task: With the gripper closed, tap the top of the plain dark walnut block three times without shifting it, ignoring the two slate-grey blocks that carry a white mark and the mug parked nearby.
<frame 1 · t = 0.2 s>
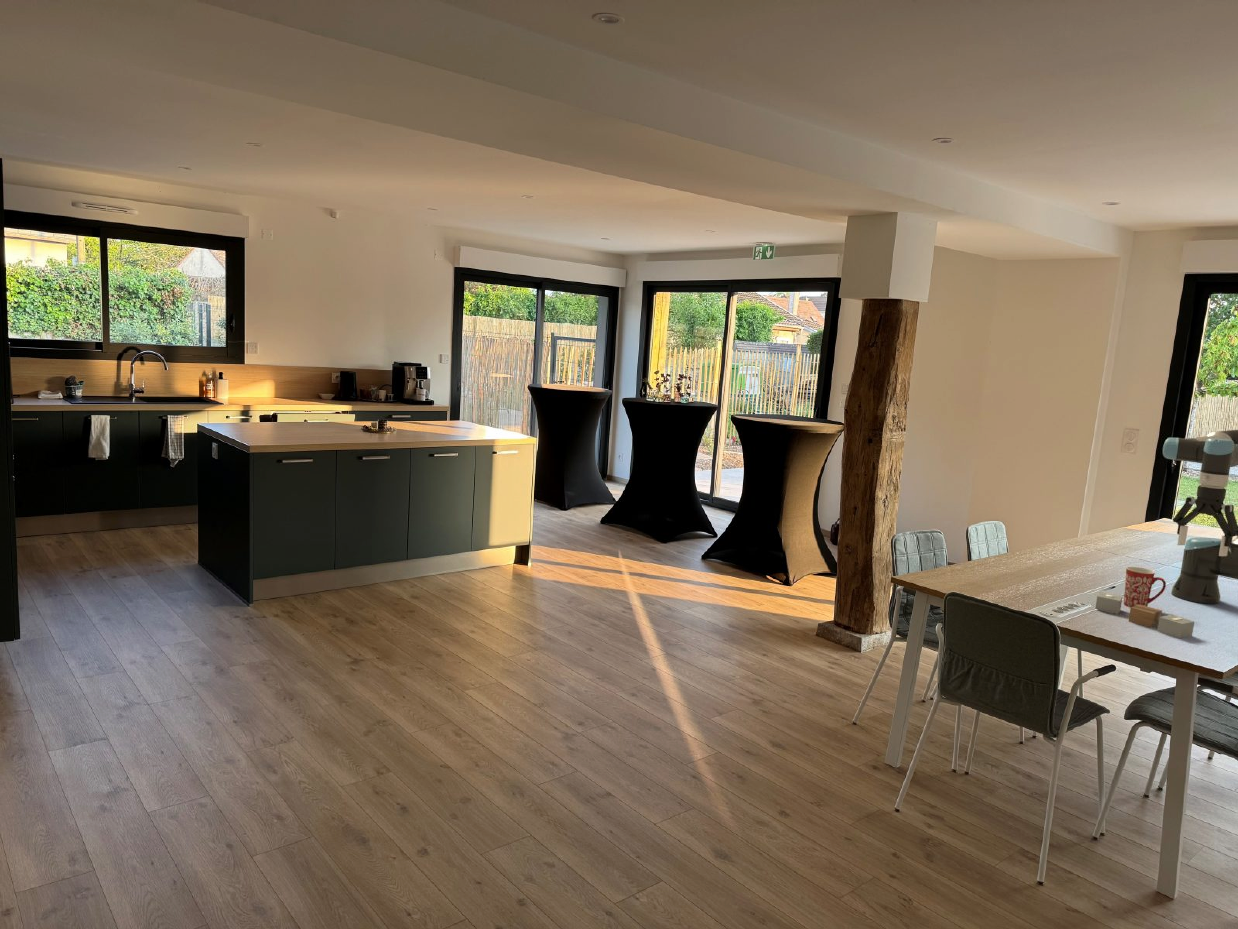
hand: (1201, 550, 270), 27 cm above the table, fingers open, 13 cm apart
walnut block: (1144, 623, 278), on the table
marked block b: (1174, 634, 269), on the table
marked block a: (1107, 610, 291), on the table
mug: (1140, 607, 296), on the table
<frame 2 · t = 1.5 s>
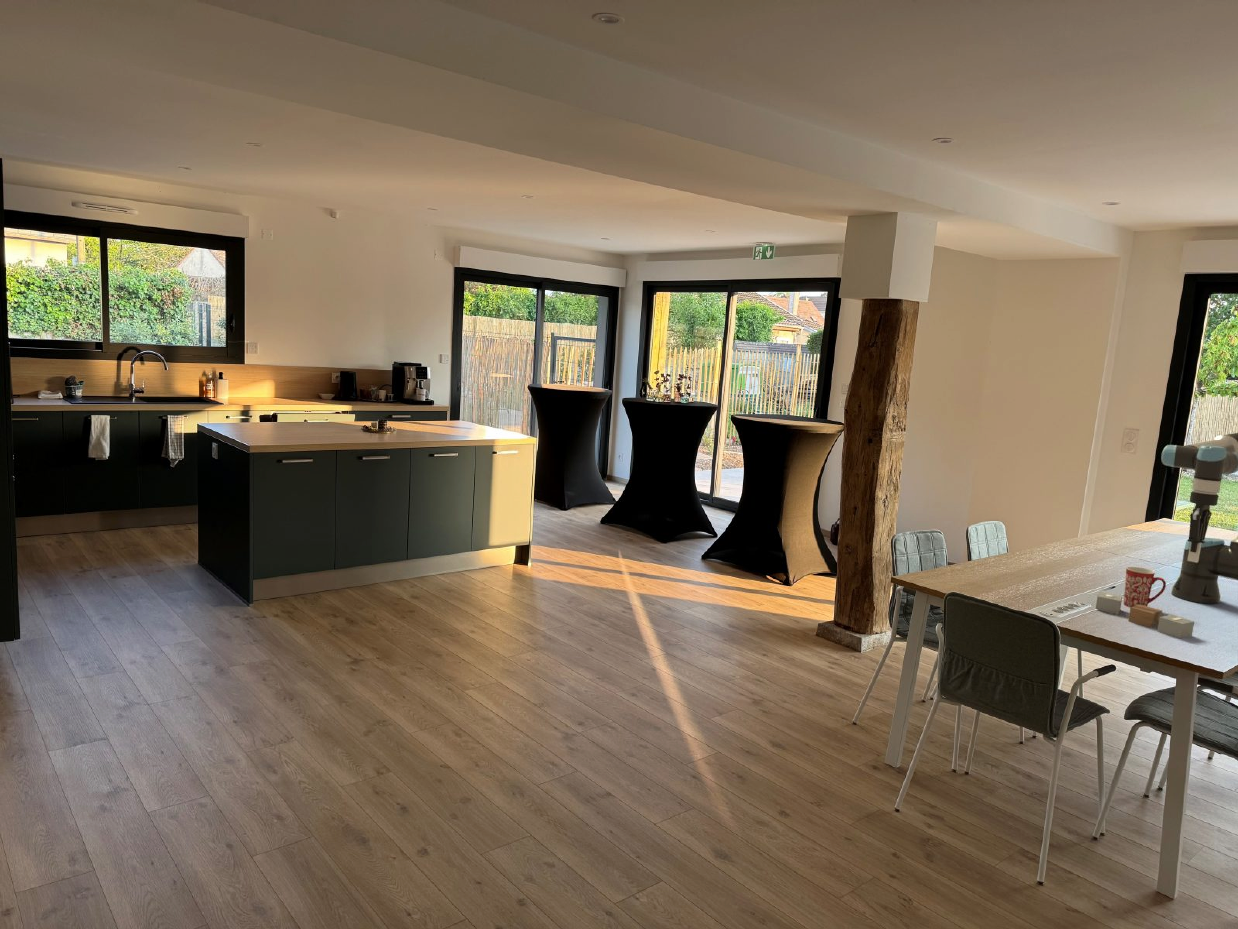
hand: (1192, 561, 277), 22 cm above the table, fingers closed
nothing on the table moved.
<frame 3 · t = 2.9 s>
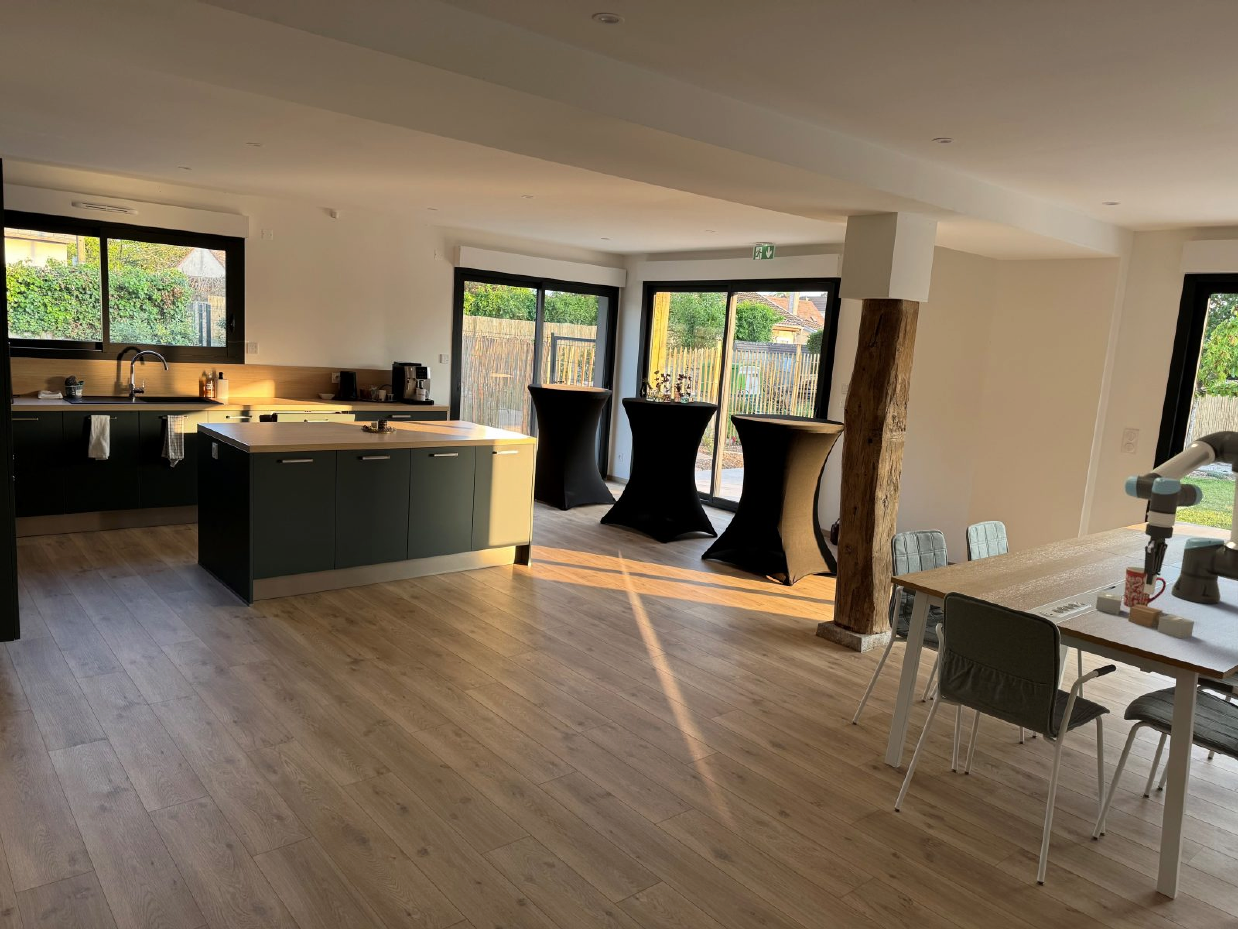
hand: (1148, 593, 277), 10 cm above the table, fingers closed
nothing on the table moved.
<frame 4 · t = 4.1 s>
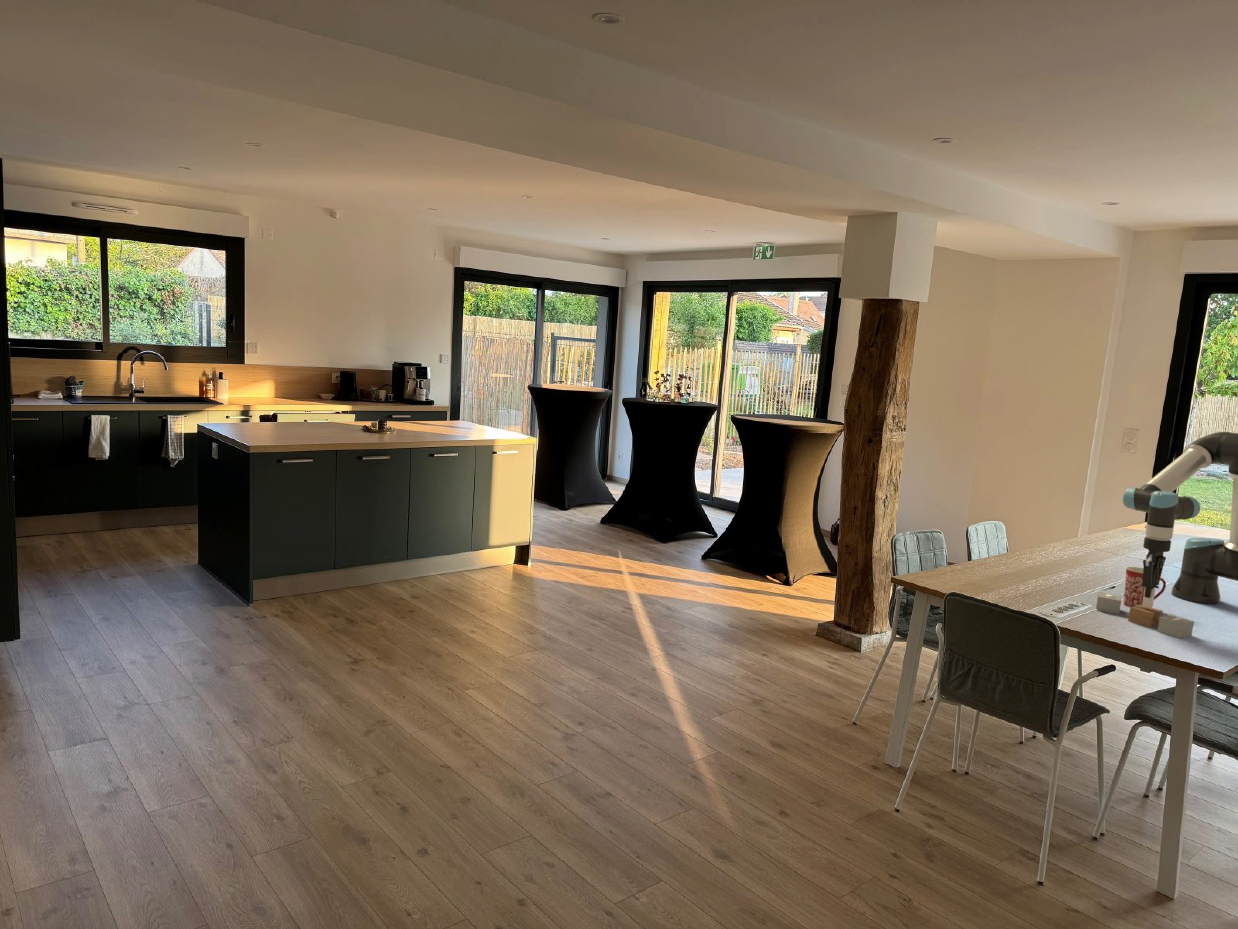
hand: (1147, 606, 278), 6 cm above the table, fingers closed
nothing on the table moved.
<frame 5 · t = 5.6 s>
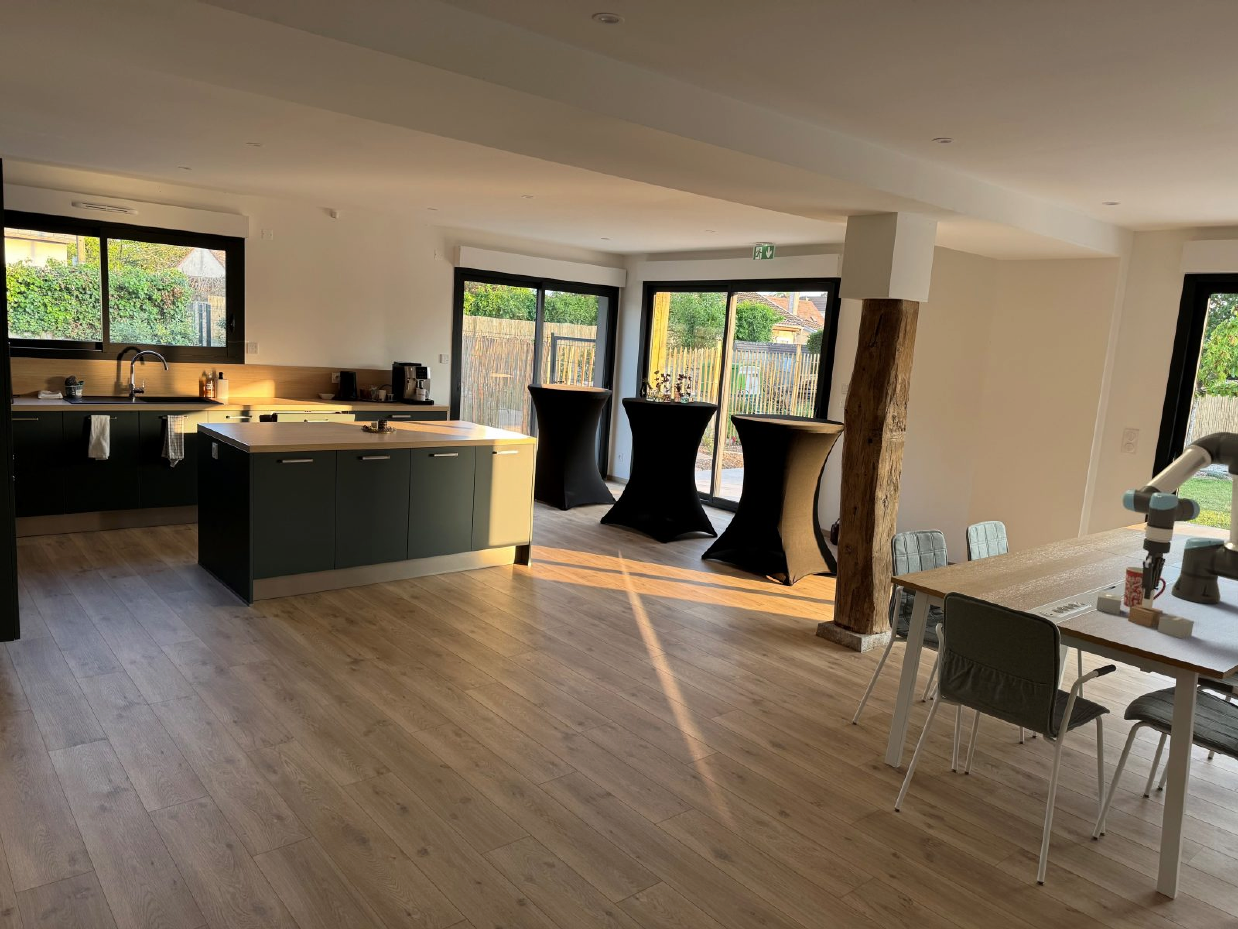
hand: (1146, 607, 277), 5 cm above the table, fingers closed
nothing on the table moved.
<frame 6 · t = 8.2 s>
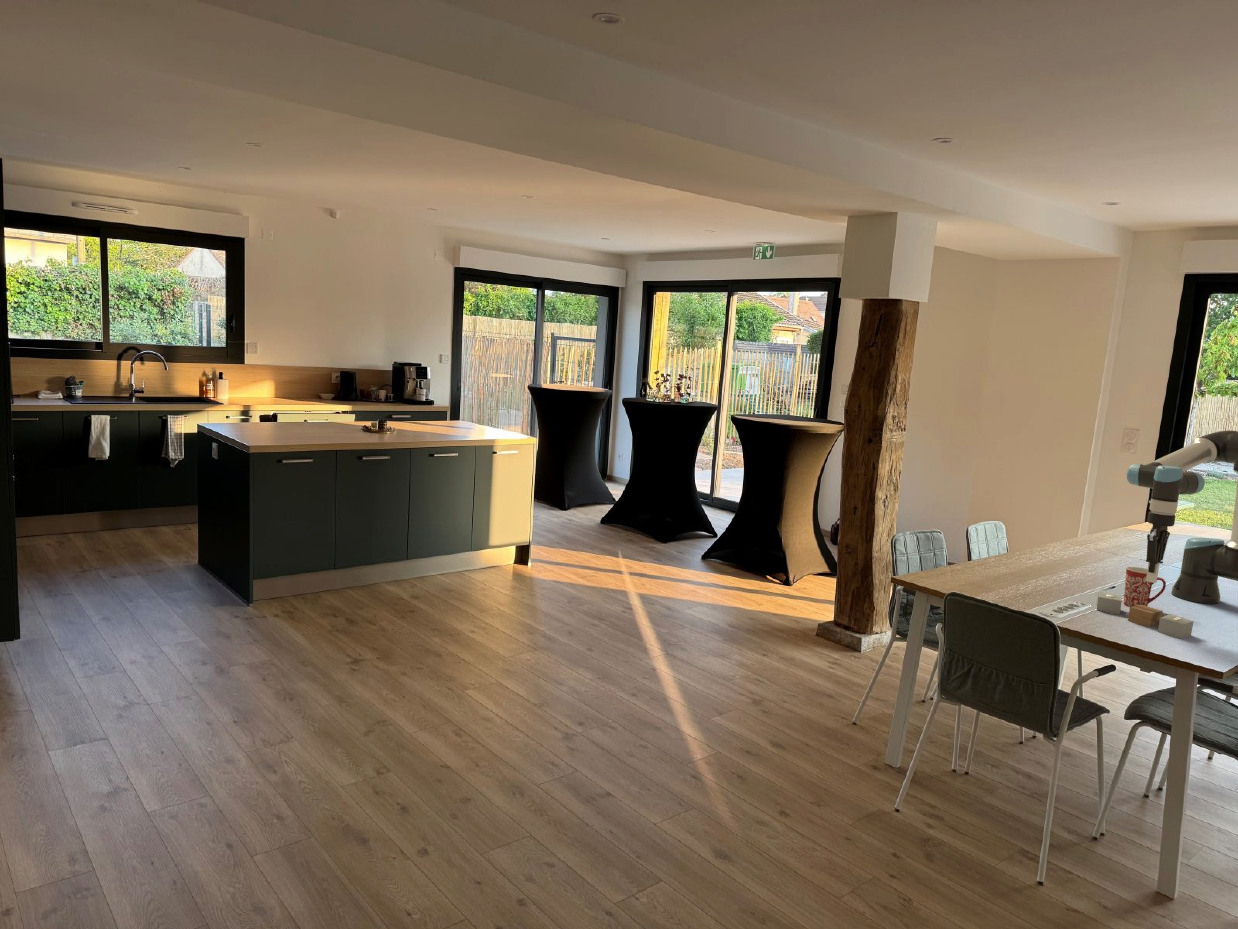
hand: (1151, 581, 276), 14 cm above the table, fingers closed
nothing on the table moved.
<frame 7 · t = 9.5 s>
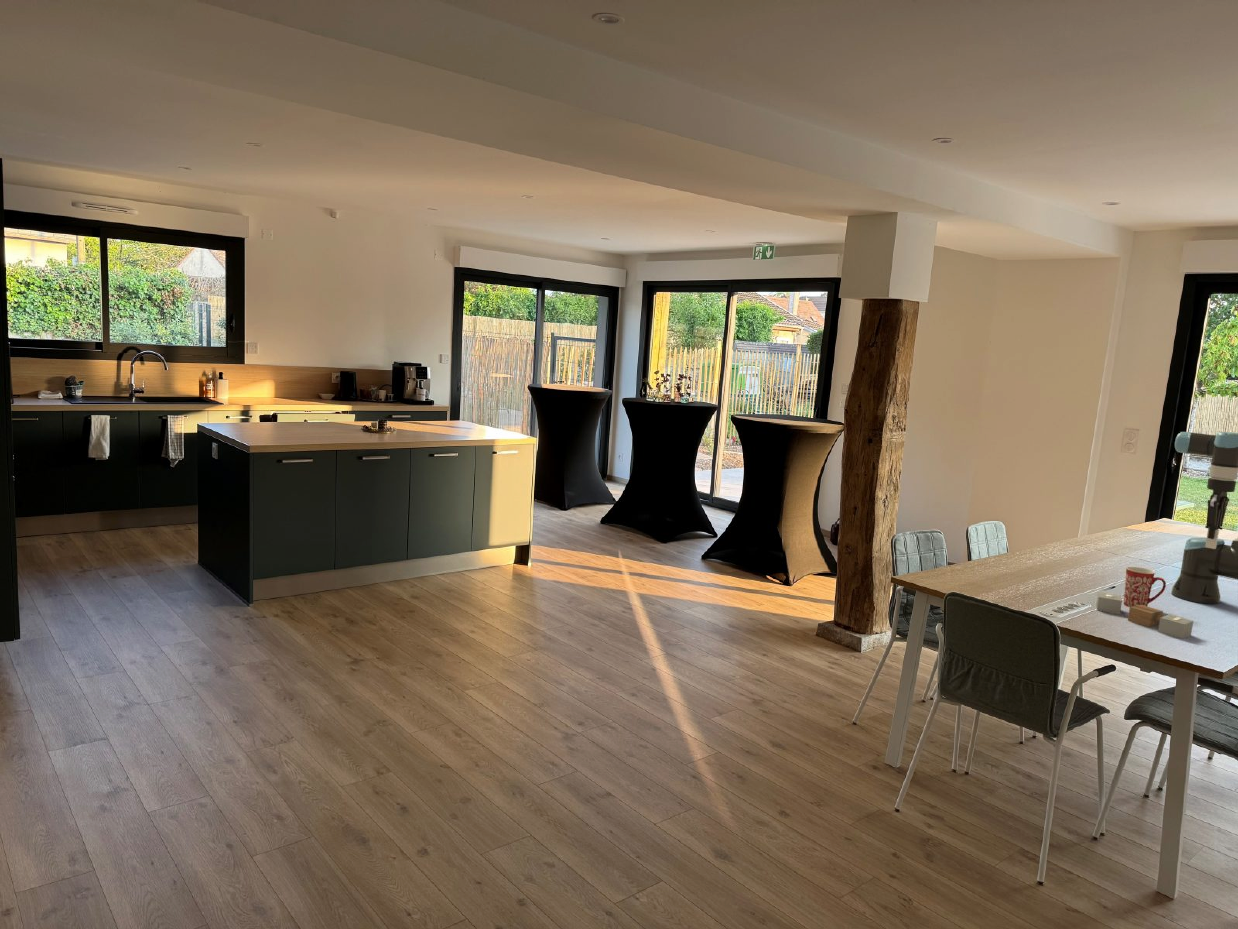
hand: (1210, 547, 278), 26 cm above the table, fingers closed
nothing on the table moved.
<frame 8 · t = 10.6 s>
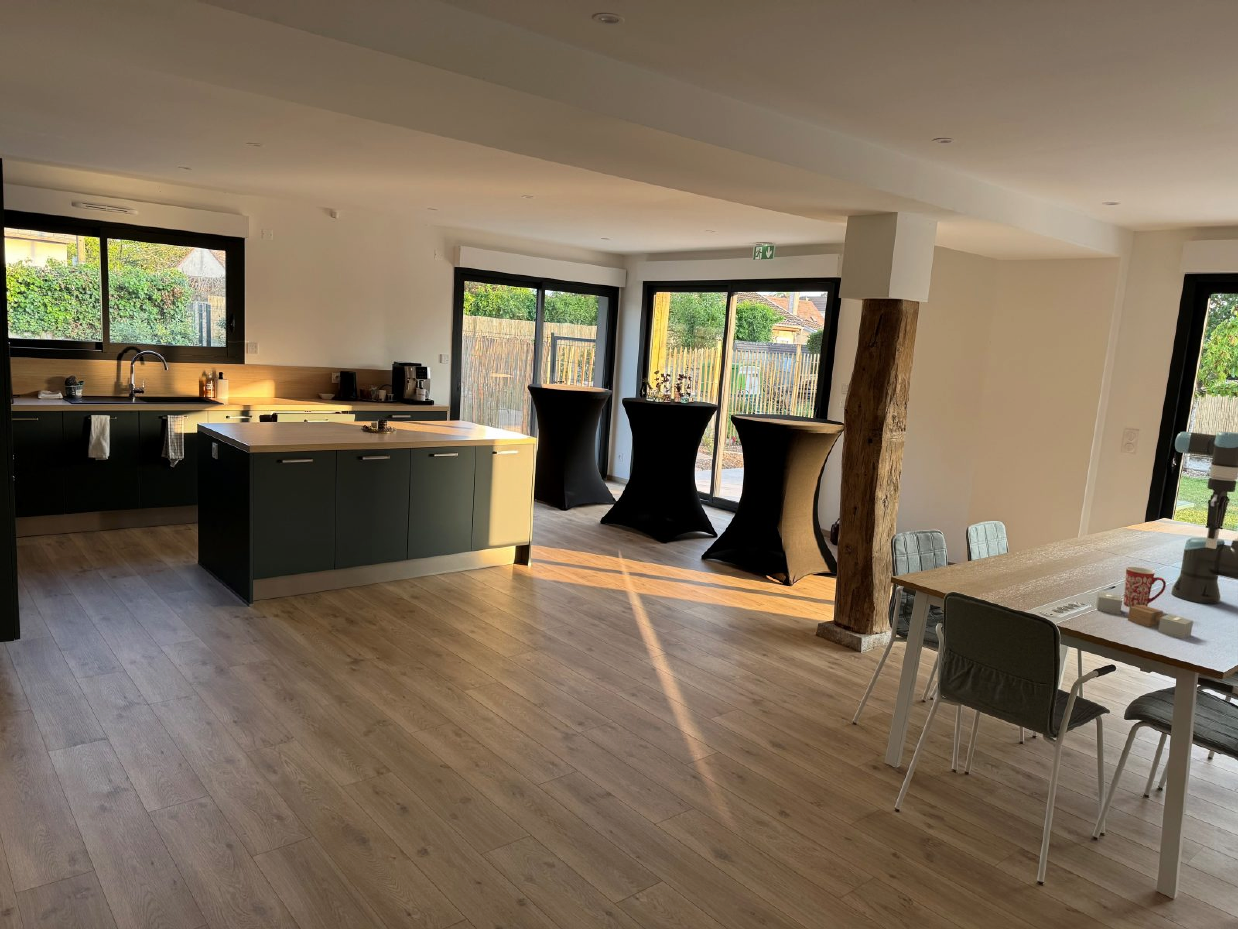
hand: (1210, 547, 278), 26 cm above the table, fingers closed
nothing on the table moved.
at the end: walnut block moved 0.2 cm from its start; walnut block tilted 0°; marked block b moved 0.2 cm from its start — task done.
